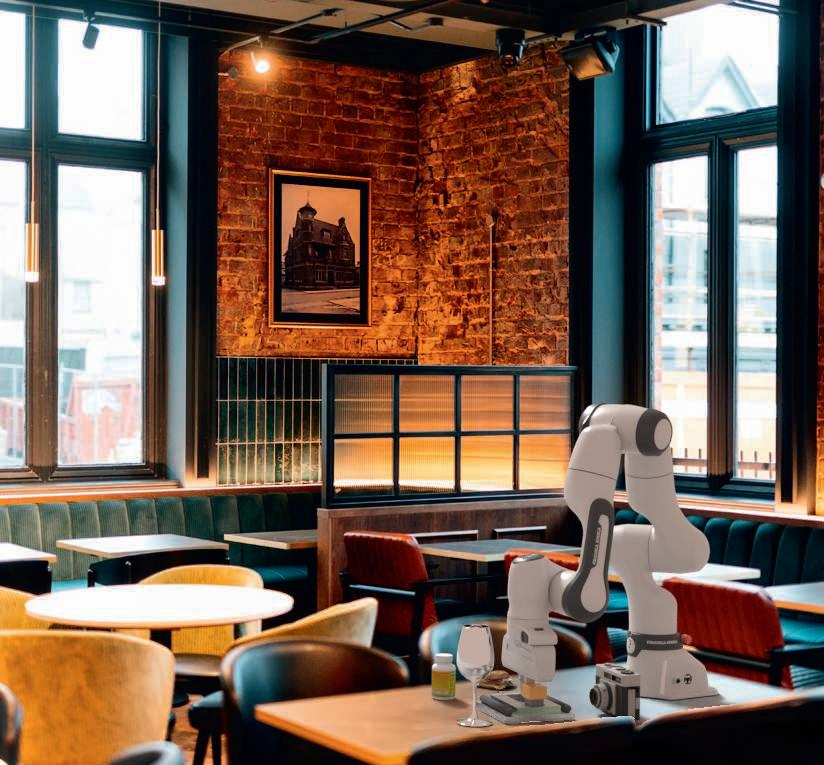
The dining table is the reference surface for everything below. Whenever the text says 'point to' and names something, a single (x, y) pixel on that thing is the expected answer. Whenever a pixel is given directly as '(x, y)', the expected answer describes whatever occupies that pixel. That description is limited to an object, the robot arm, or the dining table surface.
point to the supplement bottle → (443, 677)
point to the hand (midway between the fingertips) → (526, 695)
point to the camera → (616, 691)
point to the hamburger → (497, 680)
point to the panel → (524, 710)
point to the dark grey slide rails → (509, 711)
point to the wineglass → (475, 664)
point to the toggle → (534, 694)
